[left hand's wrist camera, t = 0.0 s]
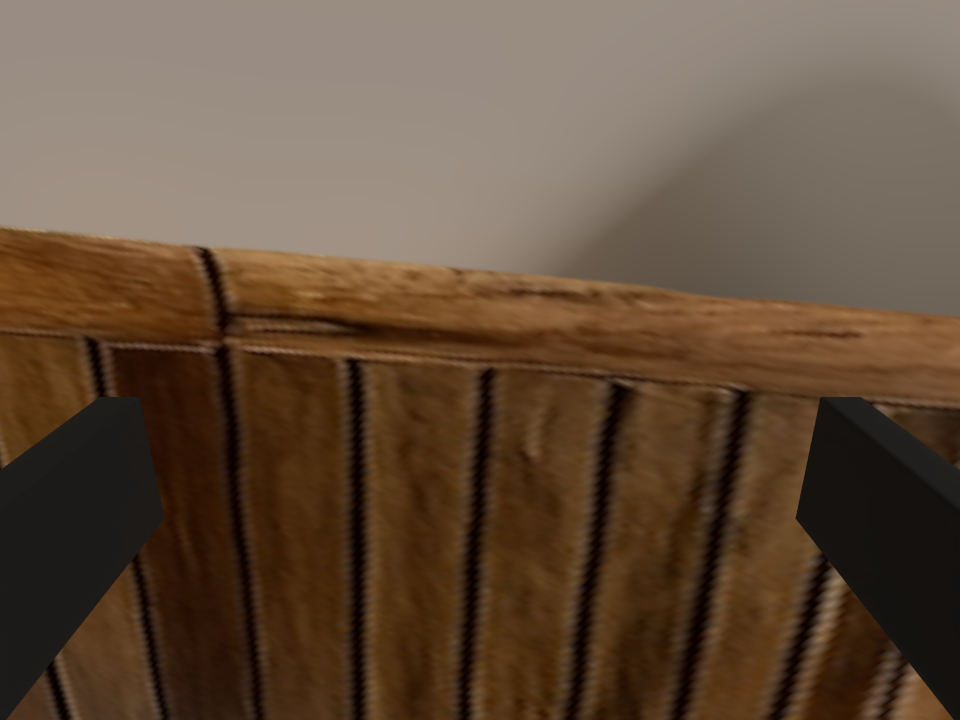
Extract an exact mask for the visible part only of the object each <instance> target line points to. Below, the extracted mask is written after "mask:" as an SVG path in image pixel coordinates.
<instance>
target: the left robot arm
mask: <svg viewBox="0 0 960 720" xmlns="http://www.w3.org/2000/svg"><path fill="white" fill-rule="evenodd" d="M163 519H164V515H163V510H162V505H161V500H160V495H159V490H158V485H157V481H156V476H155V471H154V466H153V461H152V456H151V451H150V446H149V442H148V437H147V432H146V427H145V422H144V417H143V412H142V408H141V403H140V398H139V397H99V398H98V399H96V400H95V401H94V402H92V403H91V404H90V405H88V406H87V407H86V408H84V409H83V410H81V411H80V412H79V413H77V414H76V415H75V416H73V417H72V418H71V419H69V420H68V421H67V422H65V423H64V424H62V425H61V426H60V427H58V428H57V429H56V430H54V431H53V432H52V433H50V434H49V435H47V436H46V437H45V438H43V439H42V440H41V441H39V442H38V443H37V444H35V445H34V446H33V447H31V448H30V449H28V450H27V451H26V452H24V453H23V454H22V455H20V456H19V457H18V458H16V459H15V460H14V461H12V462H11V463H9V464H8V465H7V466H5V467H4V468H3V469H1V470H0V720H6V719H7V718H8V717H9V715H10V714H11V713H12V711H13V710H14V709H15V708H16V706H17V705H18V704H19V703H20V701H21V700H22V699H23V697H24V696H25V695H26V694H27V692H28V691H29V690H30V689H31V687H32V686H33V685H34V683H35V682H36V681H37V680H38V678H39V677H40V676H41V675H42V673H43V672H44V671H45V669H46V668H47V667H48V666H49V664H50V663H51V662H52V661H53V659H54V658H55V657H56V655H57V654H58V653H59V652H60V650H61V649H62V648H63V647H64V645H65V644H66V643H67V642H68V640H69V639H70V638H71V636H72V635H73V634H74V633H75V631H76V630H77V629H78V628H79V626H80V625H81V624H82V622H83V621H84V620H85V619H86V617H87V616H88V615H89V614H90V612H91V611H92V610H93V608H94V607H95V606H96V605H97V603H98V602H99V601H100V600H101V598H102V597H103V596H104V594H105V593H106V592H107V591H108V589H109V588H110V587H111V586H112V584H113V583H114V582H115V580H116V579H117V578H118V577H119V575H120V574H121V573H122V572H123V570H124V569H125V568H126V567H127V565H128V564H129V563H130V561H131V560H132V559H133V558H134V556H135V555H136V554H137V553H138V551H139V550H140V549H141V547H142V546H143V545H144V544H145V542H146V541H147V540H148V539H149V537H150V536H151V535H152V533H153V532H154V531H155V530H156V528H157V527H158V526H159V525H160V523H161V522H162V521H163ZM796 519H797V521H798V522H799V523H800V525H801V526H802V527H803V528H804V530H805V531H806V532H807V533H808V535H809V536H810V537H811V539H812V540H813V541H814V542H815V544H816V545H817V546H818V547H819V549H820V550H821V551H822V553H823V554H824V555H825V556H826V558H827V559H828V560H829V561H830V563H831V564H832V565H833V567H834V568H835V569H836V570H837V572H838V573H839V574H840V575H841V577H842V578H843V579H844V580H845V582H846V583H847V584H848V586H849V587H850V588H851V589H852V591H853V592H854V593H855V594H856V596H857V597H858V598H859V600H860V601H861V602H862V603H863V605H864V606H865V607H866V608H867V610H868V611H869V612H870V614H871V615H872V616H873V617H874V619H875V620H876V621H877V622H878V624H879V625H880V626H881V628H882V629H883V630H884V631H885V633H886V634H887V635H888V636H889V638H890V639H891V640H892V642H893V643H894V644H895V645H896V647H897V648H898V649H899V650H900V652H901V653H902V654H903V655H904V657H905V658H906V659H907V661H908V662H909V663H910V664H911V666H912V667H913V668H914V669H915V671H916V672H917V673H918V675H919V676H920V677H921V678H922V680H923V681H924V682H925V683H926V685H927V686H928V687H929V689H930V690H931V691H932V692H933V694H934V695H935V696H936V697H937V699H938V700H939V701H940V703H941V704H942V705H943V706H944V708H945V709H946V710H947V711H948V713H949V714H950V715H951V717H952V718H953V719H954V720H960V470H959V469H957V468H956V467H955V466H953V465H952V464H951V463H949V462H948V461H946V460H945V459H944V458H942V457H941V456H940V455H938V454H937V453H936V452H934V451H933V450H932V449H930V448H929V447H927V446H926V445H925V444H923V443H922V442H921V441H919V440H918V439H917V438H915V437H914V436H913V435H911V434H910V433H908V432H907V431H906V430H904V429H903V428H902V427H900V426H899V425H898V424H896V423H895V422H893V421H892V420H891V419H889V418H888V417H887V416H885V415H884V414H883V413H881V412H880V411H879V410H877V409H876V408H874V407H873V406H872V405H870V404H869V403H868V402H866V401H865V400H864V399H862V398H861V397H821V398H820V403H819V408H818V412H817V417H816V422H815V427H814V432H813V437H812V442H811V446H810V451H809V456H808V461H807V466H806V471H805V476H804V481H803V485H802V490H801V495H800V500H799V505H798V510H797V515H796Z"/></svg>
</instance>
